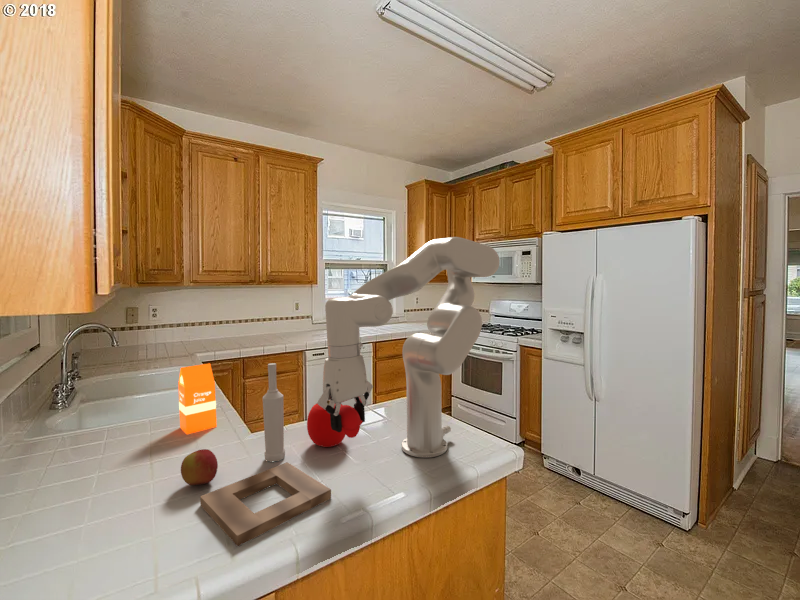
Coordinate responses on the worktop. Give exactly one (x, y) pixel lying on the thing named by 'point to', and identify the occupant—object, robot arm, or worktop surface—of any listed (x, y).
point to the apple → (199, 467)
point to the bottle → (273, 419)
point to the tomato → (322, 428)
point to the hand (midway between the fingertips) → (348, 424)
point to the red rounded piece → (350, 420)
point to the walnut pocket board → (250, 525)
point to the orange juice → (197, 398)
